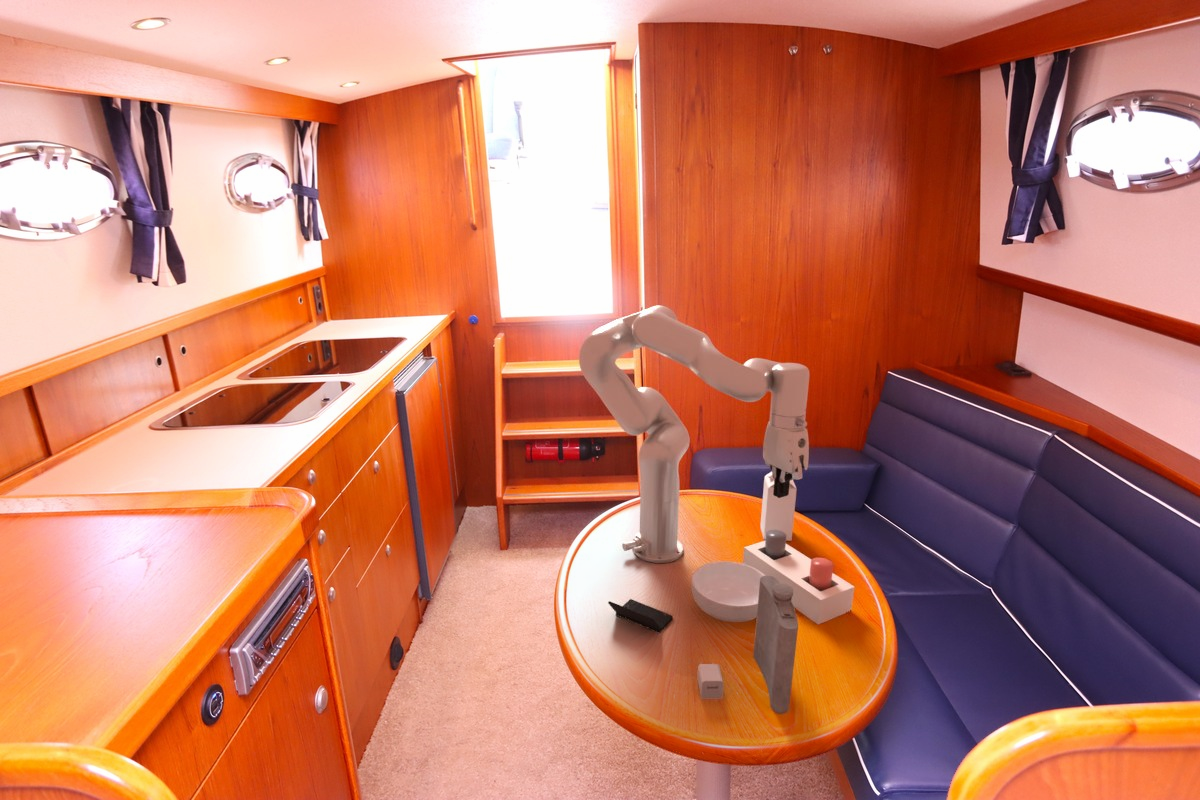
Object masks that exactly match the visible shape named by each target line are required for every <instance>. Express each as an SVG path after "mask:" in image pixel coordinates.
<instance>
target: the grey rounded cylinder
mask: <svg viewBox="0 0 1200 800" xmlns="http://www.w3.org/2000/svg"><path fill="white" fill-rule="evenodd" d="M764 541H765V551H764V554H765V555H767V556H768V557H770V558H771V559H773V560H777V559H780V558H783V557H784V556H785V546H786V544H787V541H786V534H785V533H784V532H782V531H779V530H769V531H767V532H766V539H764Z"/></svg>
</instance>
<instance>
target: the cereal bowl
mask: <svg viewBox="0 0 1200 800" xmlns="http://www.w3.org/2000/svg"><path fill="white" fill-rule="evenodd" d="M762 576H765V575H764V574H763V573H761V572H760V571H758V570H757V569H755V568H753V567H750V566H748V565H745V564H743V563H740V562H735V561H728V560H721V561H719V560H718V561H712V562H708V563H705V564H703V565H701V566H699V567H698V568H696V569H695V571H694V572H693V574H692V577H691V582H690V583H691V592H692V596H693V599H694V600H695V603H696V604H697V605H698V606H699V608H701V610H702V611H703V612H705V613H706V614H708V615H709V616H711V617H713V618H715V619H718V620H720V621H723V622H730V623H742V622H748V621H751V620H754V619H757V609H758V597H759V586H760V578H761V577H762Z"/></svg>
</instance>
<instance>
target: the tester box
mask: <svg viewBox="0 0 1200 800" xmlns="http://www.w3.org/2000/svg"><path fill="white" fill-rule="evenodd" d="M764 551H765V540H762V541H760V542H757V543H753V544H751V545H747V546H744V547H743V554H742V556H743V557H742V564H745V565H748V566H750V567H753V568H755V569H757V570H758V571H760V572H761V573H763V574H764V575H765V576H772V577H774V578H776V579H777V580H778V582H779V583H782V584H787V585H789V586H791V587H792V588H793V596H792V599H791V602H792V604H793V607H794V609H796V610H798V612H800V613H801V614H802V615H804V616H805V617H807V618H808V619H809V620H811V621H812V622H814V624H817V625H821V624H822V623H825V622H827V621H830V620H832V619H834V618H837V617H840V616H842V615H844V614H846V612H847V613H849V612H851V611H852V607H853V601H854V592H855V586H854V585H852V584H851V583H849V582H847V580H844V579H843V578H841V577H840V576H838V575H837V574H835V573H834V572H832V580H831V588H829V589H826V590H824V591H819V590H817V589H816V588H814V587H813V586H811V585H810V584H808V583H809V574H810V565H811V560H812V559H811V558H810V557H808V556H806V555H805V554H803V553H801V551H799V550H797V549H796V548H794V547H792V546H790V544H787V543H786V546H785V556H784V557H783V558H780V559H777V560H773V559H771V558H770V557H768V556H767V555H765V554H764ZM850 610H851V611H850ZM848 611H849V612H848Z"/></svg>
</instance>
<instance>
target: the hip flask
mask: <svg viewBox="0 0 1200 800" xmlns="http://www.w3.org/2000/svg"><path fill="white" fill-rule="evenodd" d="M792 596H793V588H792V587H791V586H789V585H787V584H782V583H779V582H778V580H777V579H776V578H774V577H772V576H762V577H761V578H760V586H759V597H758V609H757V617H756V619H755V621H756V623H755V633H754V634H755V635H754V644H753V646H754V647H753V656H752V657H753V659H754V660H753V661H755V663H756V664H757V667H759V669H760V671H761V674H762V676H763V679H764V682H765V684H766V687H767V690H768V691H767V692H768V696H769V703H770V705H769V706H770V708H771V710H772V711H773V712H775V713H777V714H783V715H784V714H787V713H788V712H789V710H790V703H791V694H792V684H793V677H794V676H793V674H794V667H795V666H794V665H795V659H796V657H795V656H796V647H797V638H798V632H799V631H798V630H799V621H798V617H797V616H798V615H797V612H796V610H795V609H796V608H794V607H793V604H792V602H791V599H792Z"/></svg>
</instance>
